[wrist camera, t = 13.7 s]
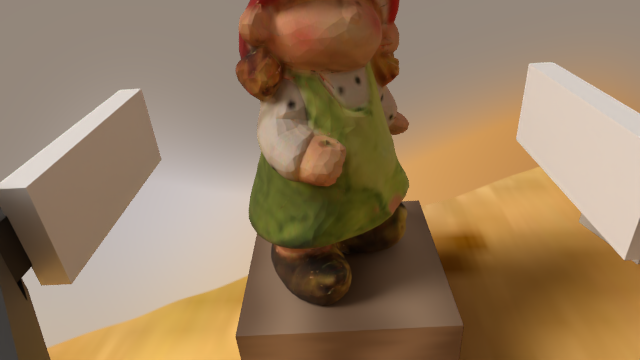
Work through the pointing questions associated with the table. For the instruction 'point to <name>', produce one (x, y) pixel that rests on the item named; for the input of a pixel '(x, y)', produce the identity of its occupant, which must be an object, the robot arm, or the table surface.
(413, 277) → the pedestal
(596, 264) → the table surface
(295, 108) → the figurine
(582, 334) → the table surface
